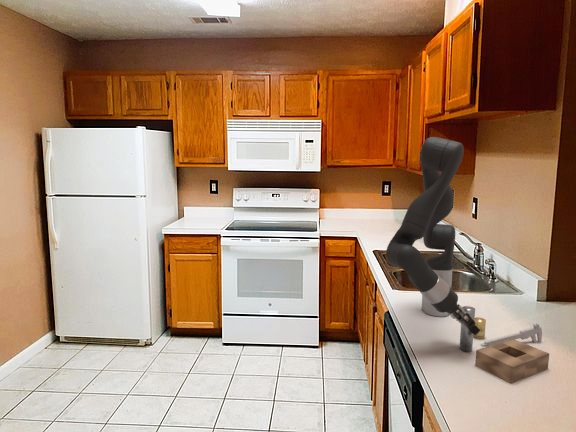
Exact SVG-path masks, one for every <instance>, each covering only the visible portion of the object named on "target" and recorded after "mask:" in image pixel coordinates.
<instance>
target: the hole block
mask: <svg viewBox="0 0 576 432" xmlns="http://www.w3.org/2000/svg"><path fill="white" fill-rule="evenodd" d="M474 360H475V363H474V366H476V367H478V368H480V369H481V370H484V371H486V372H487V373H490V374H492V375H493V376H496V377H498V378H500V379H502V380H504V381H506V382H508V383H510V384H514V383H516V382H519V381H521V380H524V379H527V378H528V377H531V376H534V375H537V374H538V373H541V372H543V371H547V370H548V369H549V362H550V353H549V352H547V351H544V350H541V349H539V348H537V347H534V346H531V345H529V344H527V343H524V342H522V341H519V340H518V339H509V340H506V341H503V342H500V343H497V344H494V345H490V346H483V347H482V348H481V347H480V348H479V349H476V350H475V359H474Z"/></svg>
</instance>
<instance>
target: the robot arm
mask: <svg viewBox="0 0 576 432" xmlns="http://www.w3.org/2000/svg"><path fill="white" fill-rule="evenodd" d="M464 150H465V149H464V145H463V143H461V142H459V141H455V140H451V139H447V138H442V137H437V136H430V137H428V138H426V139H425V141H424V142H423V143H422V146H421V151H420V168H421V173H422V180H423V192H422V193H421V194H420V195H418V196H417V197H416V198H414V200H413V201H412V202H411V203H410V204H409V206H408V208H407V210H406V212H405V215H404V217H403V219H402V222H401V226H400V227H399V228H398V229H397V231H396V232H395V234H394V235H393V237H392V238H391V240H390V241H389V243H388V245H387V246H386V252H385V258H386V261H387V263H389V264H390V265H391V266H394V267H396V268H399V269H402V270H403V271H404V272H405V273H406V274H407V276H408V280H409V281H410V283H411V284H412V285H413V286H414V287H415V288H416V289H417V290H418V291H419V292H420V294H421V296H422V297H421V310H422V311H423V312H424V313H425V314H426V315H430V316H432V317H442V318H443V317H447V316H450V317H451V318H452V319H455V321H457V322H458V323H459V324H460V325H461V324H464V325H465V327H466V328H468V329H469V330H470V331H471V332H472V333H473V334H474V335H477V334H478V333H479V332H480V329H479V328H478V327H477V326H476V325H475V324H476V323H475V321H474V320H473V319H472V318H471V316H470V315H469V314H468V313H466V312H465V311H464V310H463V308H462V307H463V306H461V305H460V304H459V303H458V301H459V295H458V294H457V292H456V291H455V290H454V289H453V288H452V284H453V283H452V282H453V266H454V265H453V264H454V251H455V249H454V248H455V242H456V228H455V225H453V224H440V223H441V222H442V221H443V220H444V219H445V218H446V217H448V216H449V215H450V213H451V212H452V211H453V206H454V191H453V189H452V186H451V185H450V184H451V182H452V181H453V179H454V177H455V175H456V173H457V172H458V169H459V167H460V165H461V163H462V161H463V157H464V154H465V153H464V152H465V151H464ZM421 239H423V244H424V246H425V248H427V249H431V250H442V251H443V252H442V253H440V254H439V255H435V256H432V257H429V258H428V257H427V258H426V259H425V257H424V256H423V254H422V253H421V252H420V250H418V249H417V248H416V247H415V246H413V245H414V244H415V242H416V241H418V240H421Z"/></svg>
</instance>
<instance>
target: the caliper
mask: <svg viewBox="0 0 576 432" xmlns="http://www.w3.org/2000/svg"><path fill="white" fill-rule="evenodd" d="M532 325H533V327H529V328H526V329H522V330H519V332H515V333H512V334H508V335H505V336H500V337H497V338H492V339H490V340H485V341H484V343H481V344H480V346H481V347H487V346H490V345H494V344H497V343H500V342H503V341H506V340H509V339H515V340H518V339H521V340H522V341H524V340H527V339H531V340H532V342H533V343H537V342H538V343H541V342H542V341H543V340H542V339H543V331H542V326H540V324H539V323H535V324H532Z"/></svg>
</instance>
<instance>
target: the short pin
mask: <svg viewBox="0 0 576 432" xmlns="http://www.w3.org/2000/svg"><path fill="white" fill-rule="evenodd" d="M474 321H475V323H476V324H475V325H476V326H477V327H478V328H479V329H480V332H479V333H478V334H477V335H474V334H473V339H475V340H485V338H486V337H485V336H486V325H487V323H486V322H487V320H486V319H485V318H484V317H479V316H478V317H476V316H475V319H474Z"/></svg>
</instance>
